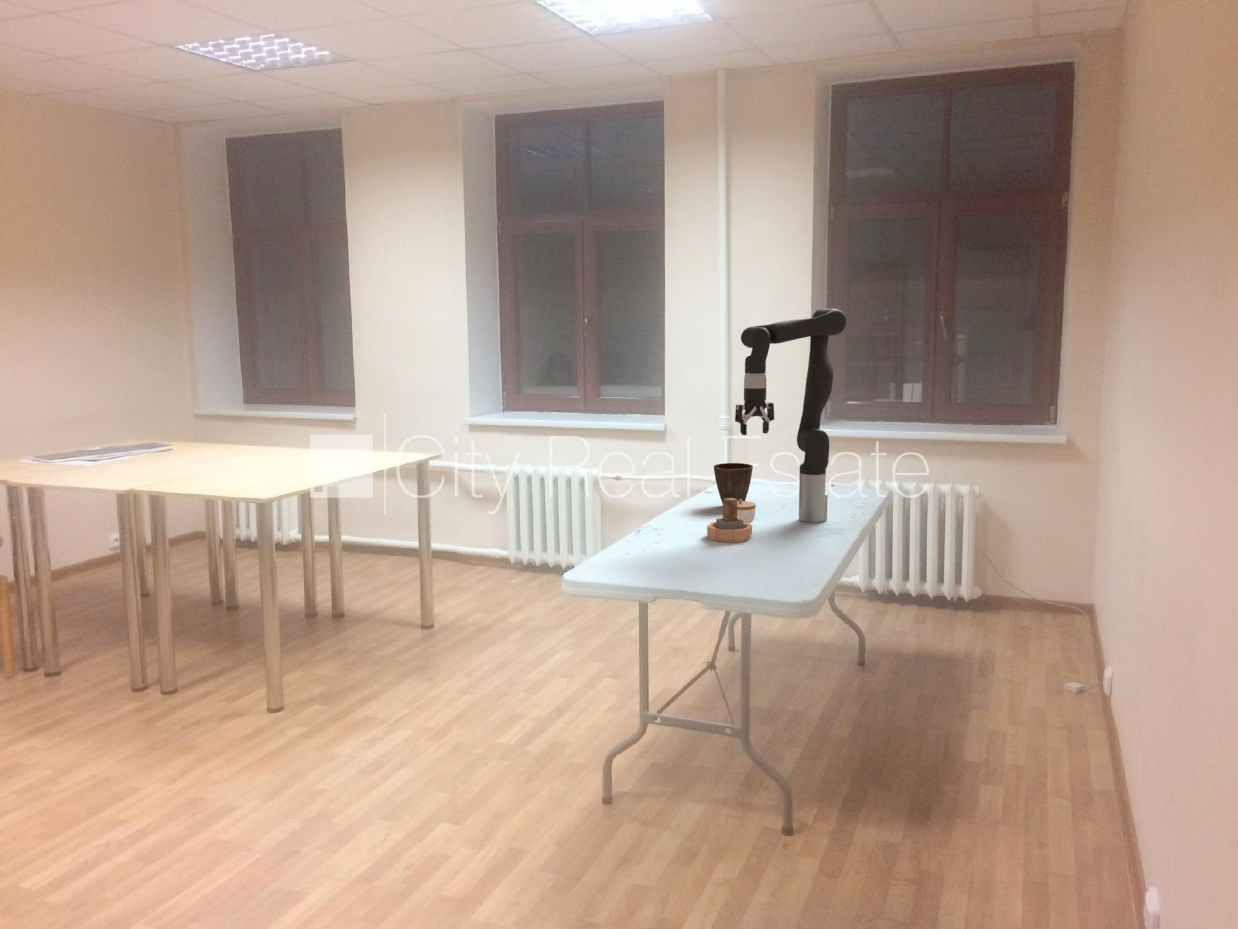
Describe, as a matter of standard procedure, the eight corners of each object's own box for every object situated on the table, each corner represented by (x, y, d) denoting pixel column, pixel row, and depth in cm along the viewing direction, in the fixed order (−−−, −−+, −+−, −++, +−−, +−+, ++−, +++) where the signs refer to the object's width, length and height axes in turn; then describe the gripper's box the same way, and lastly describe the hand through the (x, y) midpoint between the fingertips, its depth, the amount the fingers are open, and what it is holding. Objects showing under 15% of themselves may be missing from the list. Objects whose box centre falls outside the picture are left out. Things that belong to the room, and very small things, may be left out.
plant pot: (733, 512, 363) (733, 470, 361) (705, 506, 375) (705, 465, 372) (760, 507, 373) (760, 466, 370) (732, 501, 384) (732, 461, 382)
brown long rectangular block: (731, 532, 326) (731, 497, 324) (737, 535, 323) (737, 499, 321) (722, 534, 324) (722, 498, 322) (728, 536, 321) (728, 500, 319)
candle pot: (736, 531, 333) (736, 513, 332) (758, 539, 320) (759, 521, 319) (700, 535, 327) (700, 517, 326) (722, 544, 314) (722, 526, 314)
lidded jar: (754, 529, 335) (754, 502, 334) (723, 528, 338) (723, 501, 336) (756, 522, 346) (756, 496, 344) (726, 521, 348) (726, 496, 346)
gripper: (766, 384, 334) (765, 431, 337) (731, 386, 328) (730, 434, 331) (779, 386, 328) (778, 434, 330) (743, 388, 322) (742, 436, 324)
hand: (754, 434), depth 331 cm, fingers open, 8 cm apart
